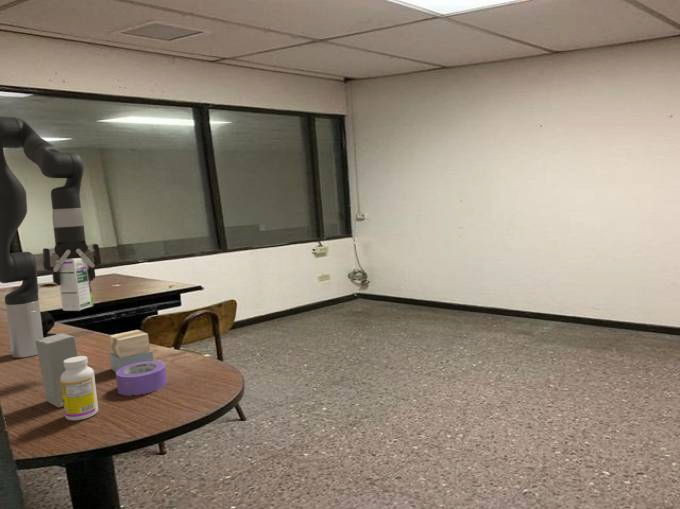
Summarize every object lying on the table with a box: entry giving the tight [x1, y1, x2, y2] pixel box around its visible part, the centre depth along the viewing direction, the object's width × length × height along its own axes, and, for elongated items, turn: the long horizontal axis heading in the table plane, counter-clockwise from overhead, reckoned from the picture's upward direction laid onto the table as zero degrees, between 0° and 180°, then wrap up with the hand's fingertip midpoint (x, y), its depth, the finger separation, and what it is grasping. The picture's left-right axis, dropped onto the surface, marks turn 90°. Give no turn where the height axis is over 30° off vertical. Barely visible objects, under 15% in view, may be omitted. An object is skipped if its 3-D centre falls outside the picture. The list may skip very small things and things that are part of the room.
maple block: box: [109, 329, 151, 358], centre depth 145 cm, size 8×8×5 cm
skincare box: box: [36, 332, 79, 408], centre depth 123 cm, size 8×7×16 cm
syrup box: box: [55, 258, 94, 312], centre depth 145 cm, size 6×6×14 cm
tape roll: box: [115, 360, 168, 397], centre depth 130 cm, size 12×12×5 cm
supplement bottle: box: [60, 355, 99, 421], centre depth 113 cm, size 7×7×13 cm
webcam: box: [40, 311, 58, 338], centre depth 186 cm, size 8×8×10 cm
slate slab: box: [109, 349, 154, 373], centre depth 146 cm, size 9×9×5 cm
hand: (75, 282), depth 145 cm, fingers closed on syrup box, 8 cm apart
